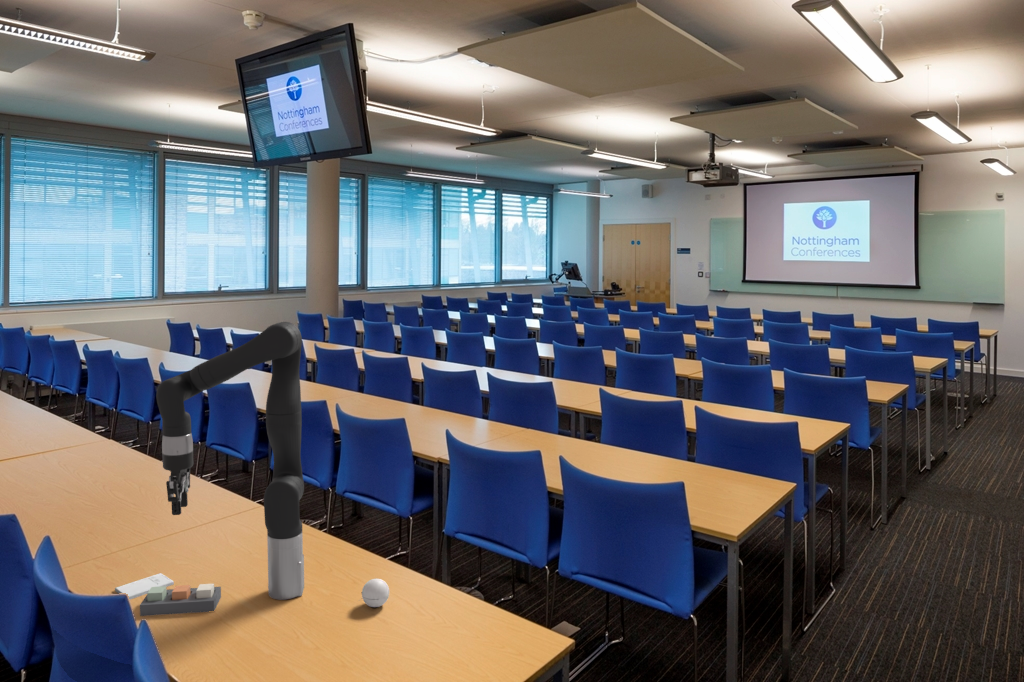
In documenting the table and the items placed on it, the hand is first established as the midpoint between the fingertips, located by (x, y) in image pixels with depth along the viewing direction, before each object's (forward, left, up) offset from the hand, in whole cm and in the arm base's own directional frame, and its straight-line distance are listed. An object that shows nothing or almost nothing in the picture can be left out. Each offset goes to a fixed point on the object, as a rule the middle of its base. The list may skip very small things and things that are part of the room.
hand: (180, 510), depth 192 cm
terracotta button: (-2, +9, -22) cm, 24 cm away
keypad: (-2, +8, -23) cm, 25 cm away
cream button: (-8, +8, -22) cm, 25 cm away
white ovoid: (-51, +16, -24) cm, 59 cm away
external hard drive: (+11, -4, -24) cm, 27 cm away
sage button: (+4, +8, -22) cm, 24 cm away
